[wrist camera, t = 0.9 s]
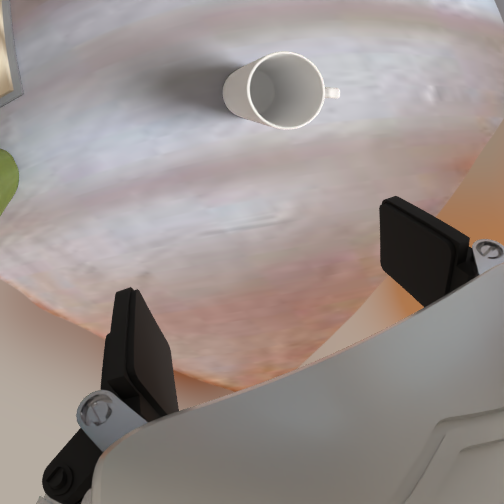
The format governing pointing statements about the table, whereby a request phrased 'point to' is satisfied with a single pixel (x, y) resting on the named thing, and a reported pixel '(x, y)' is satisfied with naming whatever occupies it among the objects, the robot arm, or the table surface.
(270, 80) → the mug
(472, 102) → the table surface
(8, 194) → the plant pot
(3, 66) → the lid
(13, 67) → the mat
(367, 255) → the table surface
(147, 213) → the table surface
